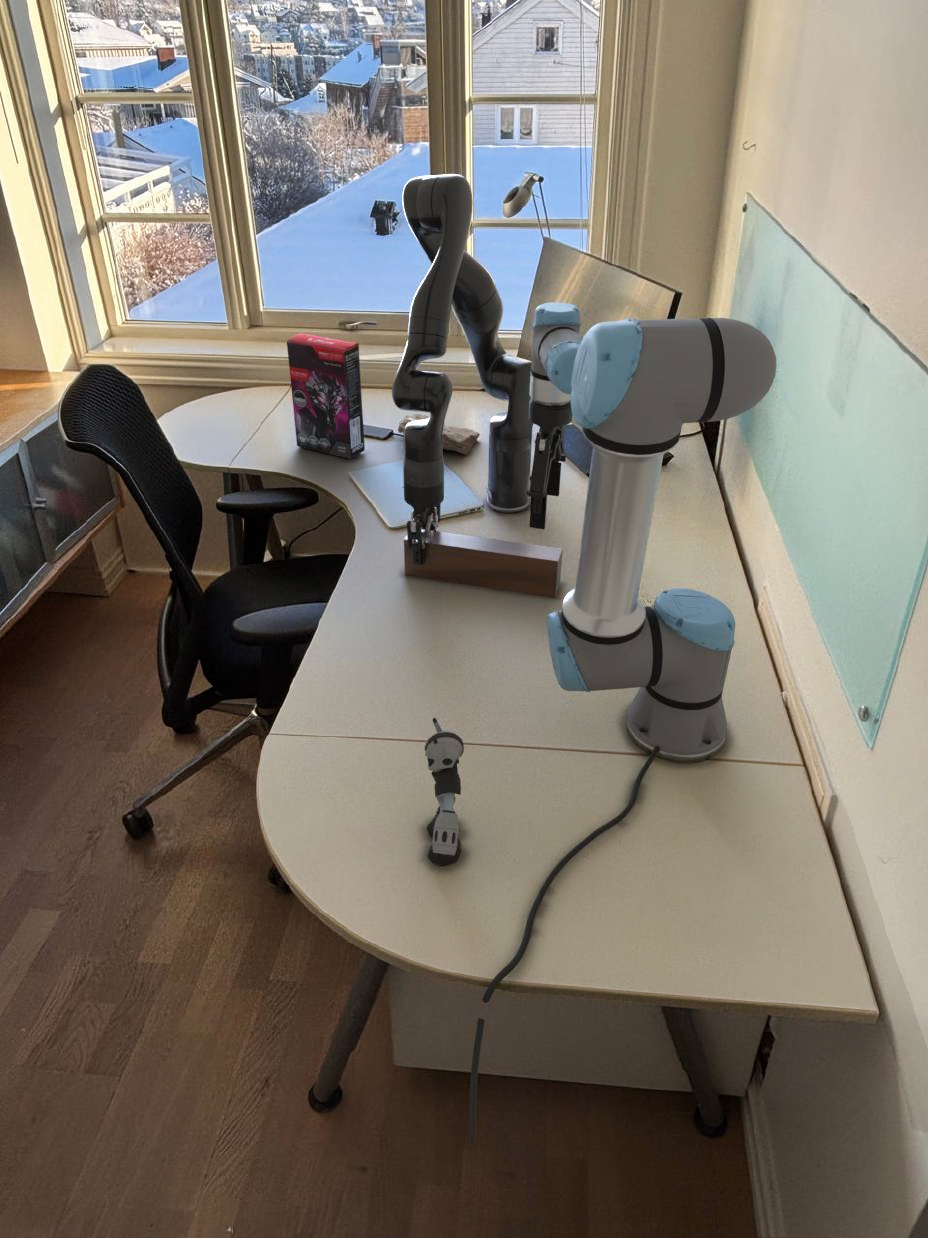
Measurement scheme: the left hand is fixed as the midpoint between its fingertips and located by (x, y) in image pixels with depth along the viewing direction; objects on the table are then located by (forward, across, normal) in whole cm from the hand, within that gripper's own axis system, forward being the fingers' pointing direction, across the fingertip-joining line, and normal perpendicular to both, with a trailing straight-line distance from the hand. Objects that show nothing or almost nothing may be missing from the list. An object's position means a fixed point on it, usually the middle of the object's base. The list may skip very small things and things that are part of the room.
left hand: (425, 554), depth 180 cm
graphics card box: (+4, +50, +40) cm, 64 cm away
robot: (+4, -67, -24) cm, 71 cm away
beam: (+4, 0, -12) cm, 12 cm away
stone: (+4, +61, +16) cm, 63 cm away
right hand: (-13, 0, -23) cm, 26 cm away
